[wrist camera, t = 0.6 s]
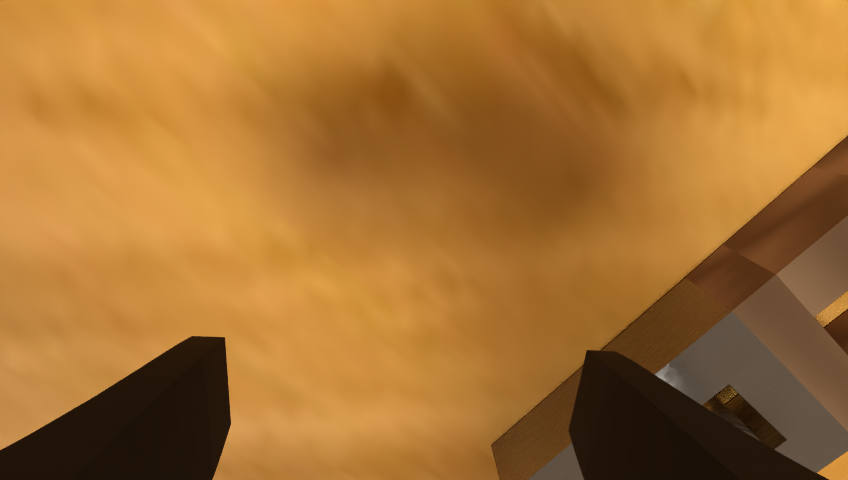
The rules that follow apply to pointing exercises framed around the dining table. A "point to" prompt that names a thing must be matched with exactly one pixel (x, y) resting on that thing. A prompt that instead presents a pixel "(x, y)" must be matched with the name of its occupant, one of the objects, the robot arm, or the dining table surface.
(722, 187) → the dining table surface
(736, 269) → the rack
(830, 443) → the socket block
